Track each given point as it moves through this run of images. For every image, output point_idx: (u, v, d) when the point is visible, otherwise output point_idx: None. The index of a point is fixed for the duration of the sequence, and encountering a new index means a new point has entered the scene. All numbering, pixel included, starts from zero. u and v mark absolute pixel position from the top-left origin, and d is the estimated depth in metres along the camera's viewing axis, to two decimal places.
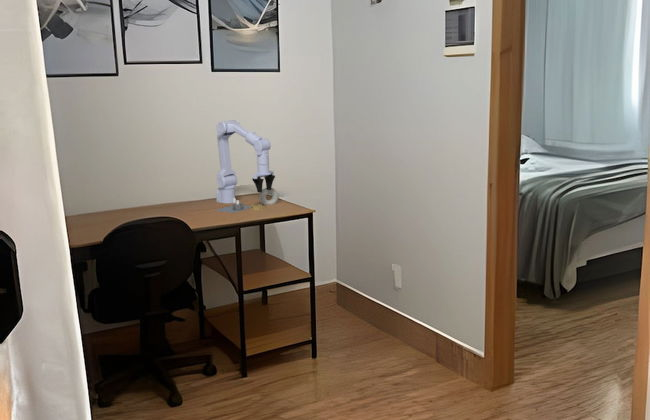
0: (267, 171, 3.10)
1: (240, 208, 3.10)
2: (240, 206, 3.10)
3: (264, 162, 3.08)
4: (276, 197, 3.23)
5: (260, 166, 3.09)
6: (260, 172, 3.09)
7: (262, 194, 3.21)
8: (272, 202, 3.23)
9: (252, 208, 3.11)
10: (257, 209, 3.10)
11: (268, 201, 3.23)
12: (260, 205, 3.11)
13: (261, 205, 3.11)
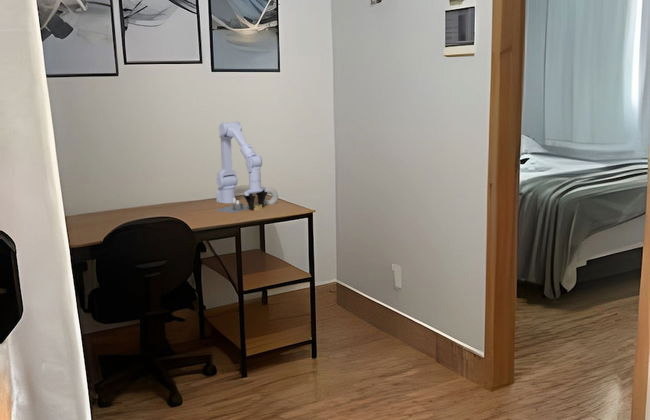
0: (259, 188, 3.08)
1: (240, 208, 3.10)
2: (240, 206, 3.10)
3: (255, 179, 3.06)
4: (276, 197, 3.23)
5: (252, 183, 3.07)
6: (252, 189, 3.08)
7: None
8: (272, 202, 3.23)
9: None
10: (257, 209, 3.10)
11: (268, 201, 3.23)
12: (260, 205, 3.11)
13: (261, 205, 3.11)
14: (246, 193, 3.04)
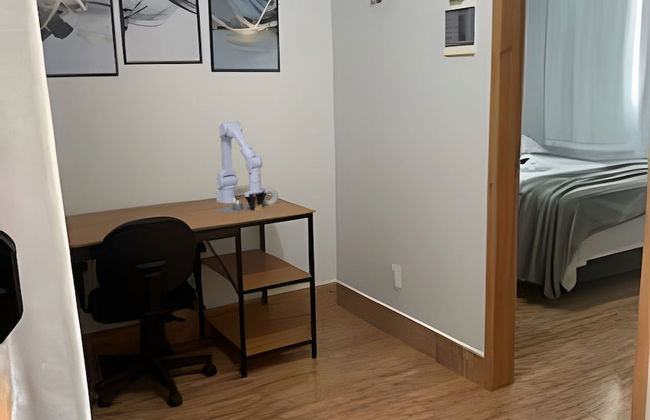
0: (259, 189, 3.08)
1: (240, 208, 3.10)
2: (240, 206, 3.10)
3: (255, 180, 3.07)
4: (276, 197, 3.23)
5: (252, 184, 3.07)
6: (252, 190, 3.08)
7: None
8: (272, 202, 3.23)
9: None
10: (257, 209, 3.10)
11: (268, 201, 3.23)
12: (260, 205, 3.11)
13: (261, 205, 3.11)
14: (246, 194, 3.05)
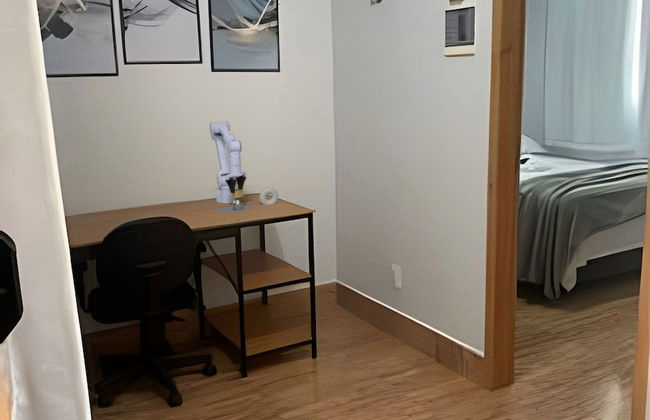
0: (239, 172, 3.12)
1: (240, 208, 3.10)
2: (240, 206, 3.10)
3: (233, 163, 3.10)
4: (276, 197, 3.23)
5: (232, 167, 3.11)
6: (232, 173, 3.12)
7: (262, 194, 3.21)
8: (272, 202, 3.23)
9: (233, 193, 3.14)
10: (238, 194, 3.14)
11: (268, 201, 3.23)
12: (241, 190, 3.15)
13: (242, 190, 3.15)
14: (226, 177, 3.08)
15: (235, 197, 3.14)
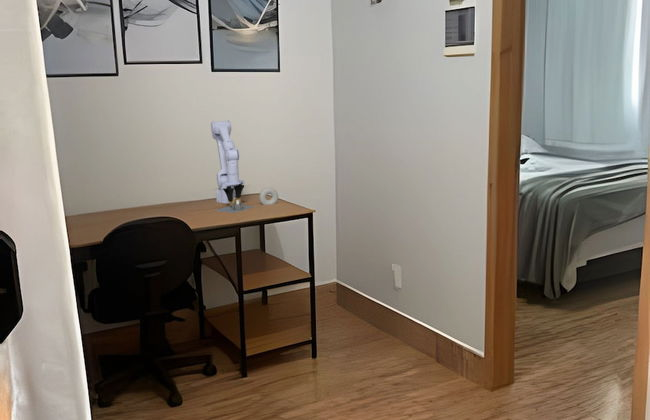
0: (236, 181, 3.14)
1: (240, 208, 3.10)
2: (240, 206, 3.10)
3: (230, 172, 3.12)
4: (276, 197, 3.23)
5: (229, 176, 3.13)
6: (230, 182, 3.13)
7: (262, 194, 3.21)
8: (272, 202, 3.23)
9: None
10: None
11: (268, 201, 3.23)
12: (239, 198, 3.16)
13: (240, 198, 3.16)
14: (224, 186, 3.10)
15: None
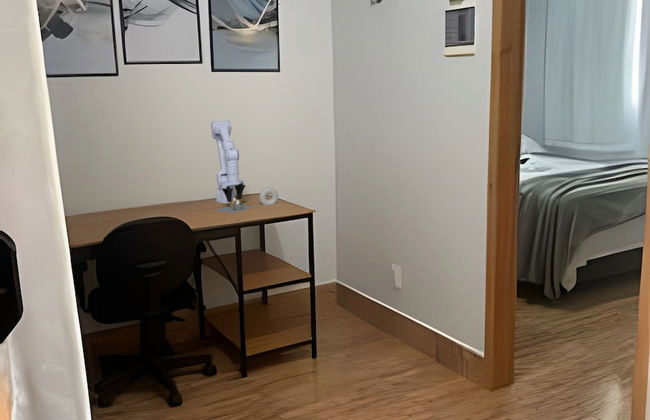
0: (236, 181, 3.14)
1: (240, 208, 3.10)
2: (240, 206, 3.10)
3: (230, 172, 3.12)
4: (276, 197, 3.23)
5: (229, 176, 3.13)
6: (230, 182, 3.13)
7: (262, 194, 3.21)
8: (272, 202, 3.23)
9: (231, 203, 3.16)
10: None
11: (268, 201, 3.23)
12: (239, 200, 3.17)
13: (240, 200, 3.17)
14: (224, 186, 3.10)
15: None
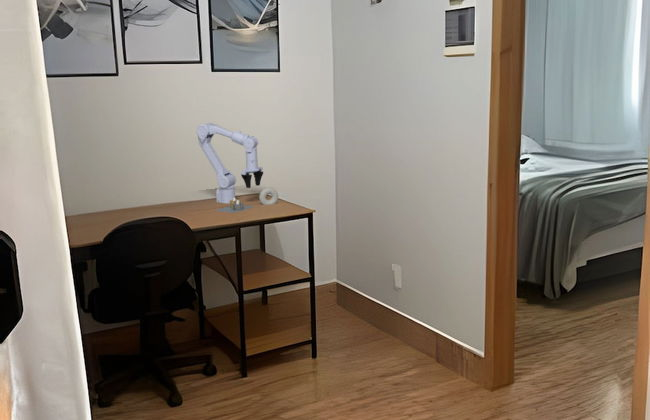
0: (255, 167, 3.22)
1: (240, 208, 3.10)
2: (240, 206, 3.10)
3: (254, 158, 3.21)
4: (276, 197, 3.23)
5: (249, 162, 3.21)
6: (249, 168, 3.22)
7: (262, 194, 3.21)
8: (272, 202, 3.23)
9: (231, 203, 3.16)
10: None
11: (268, 201, 3.23)
12: (239, 200, 3.17)
13: (240, 200, 3.17)
14: (243, 172, 3.18)
15: None
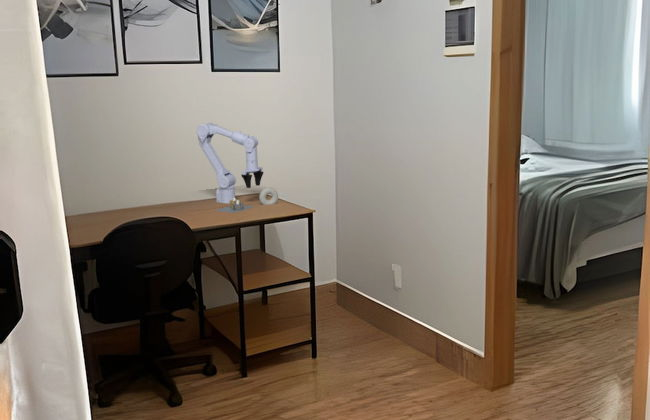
0: (255, 167, 3.22)
1: (240, 208, 3.10)
2: (240, 206, 3.10)
3: (255, 158, 3.21)
4: (276, 197, 3.23)
5: (249, 162, 3.21)
6: (249, 168, 3.22)
7: (262, 194, 3.21)
8: (272, 202, 3.23)
9: (231, 203, 3.16)
10: None
11: (268, 201, 3.23)
12: (239, 200, 3.17)
13: (240, 200, 3.17)
14: (243, 172, 3.18)
15: None
